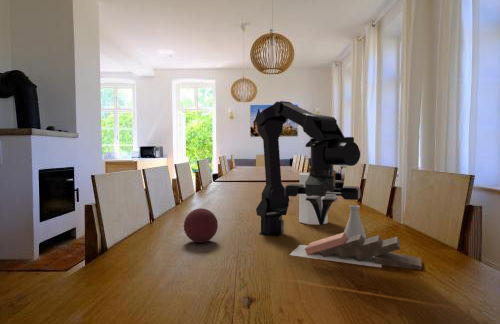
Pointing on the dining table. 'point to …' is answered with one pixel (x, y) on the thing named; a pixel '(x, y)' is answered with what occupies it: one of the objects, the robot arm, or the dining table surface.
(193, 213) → the decorative ball
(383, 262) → the domino
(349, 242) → the domino
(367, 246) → the domino
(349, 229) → the flask
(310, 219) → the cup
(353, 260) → the runner
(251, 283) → the dining table surface
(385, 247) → the domino
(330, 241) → the domino
